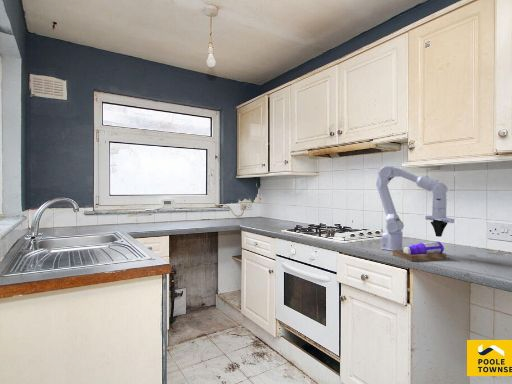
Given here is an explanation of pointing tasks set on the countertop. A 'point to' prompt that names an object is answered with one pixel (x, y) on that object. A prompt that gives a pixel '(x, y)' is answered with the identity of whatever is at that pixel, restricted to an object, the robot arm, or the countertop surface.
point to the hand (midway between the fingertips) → (438, 236)
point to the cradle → (419, 256)
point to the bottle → (424, 248)
